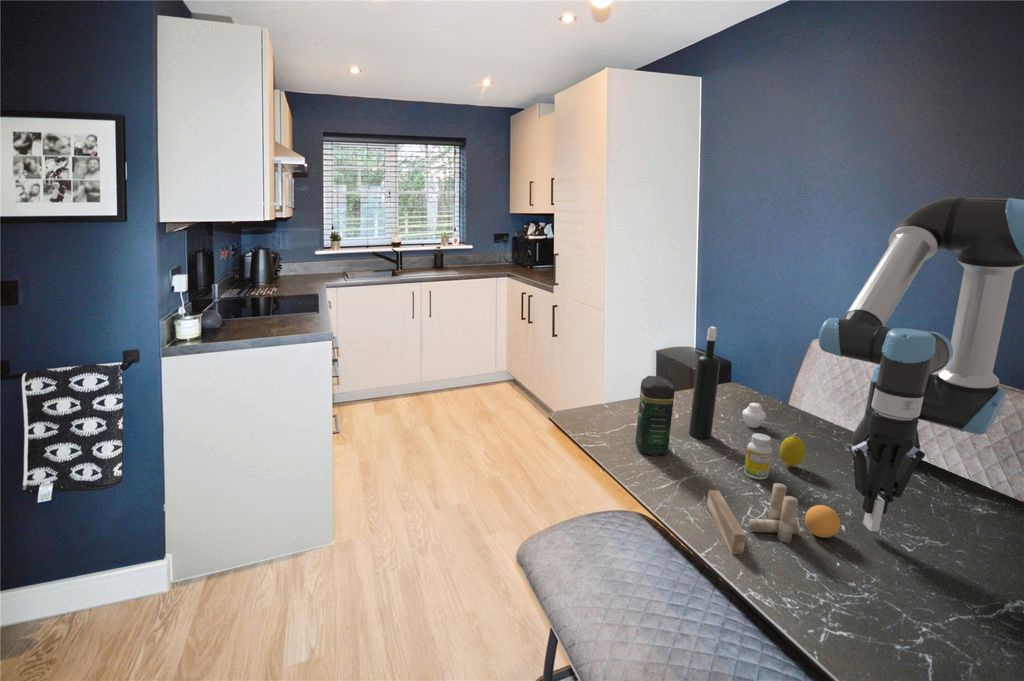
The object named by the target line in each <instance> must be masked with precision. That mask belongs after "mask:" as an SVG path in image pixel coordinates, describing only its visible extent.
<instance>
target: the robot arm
mask: <svg viewBox="0 0 1024 681" xmlns="http://www.w3.org/2000/svg"><path fill="white" fill-rule="evenodd" d="M937 251H950V252H958V255H957V263H959V265H961V266H962V267H963V275H962V280H961V286H960V291H959V297H958V302H957V308H956V312H955V318H954V322H953V329H952V335H951V338H950V339H948V337H946V336H945V335H943V334H942V333H940V332H935V331H925V330H921V329H914V328H905V327H903V328H902V327H901V328H892V327H886V324H887V322H888V321H889V320H890V317H891V316H892V314H893V313H894V311H895V310H896V308H897V307H898V304H899V303H900V302H901V300H902V298H903V296H904V295H905V293H906V291H907V290H908V288H909V287H910V286H911V284H912V282H913V281H914V279H915V277H916V276H917V274H918V272H919V270H920V269H921V268H922V266H923V265H924V263H925V261H926V260H928V259H930V258H932V257H933V256H934V255H935V254H936V253H937ZM1022 267H1024V199H1021V198H1020V199H1019V198H1013V197H1009V198H1007V197H1002V198H1001V197H998V198H997V197H961V196H960V197H959V196H958V197H957V196H952V197H950V196H949V197H945V198H940V199H937V200H933V201H931V202H928V203H927V204H925V205H922V206H921V207H919V208H917V209H916V210H914V211H913V212H911V213H910V214H908V215H907V216H906V217H904V218H903V219H902V220H901V221H900V222H899V223H898V224H897V225H896V226H895V228H894V229H893V231H892V232H891V234H890V235H889V238H888V248H887V249H886V250H885V252H884V253H883V255H882V256H881V258H880V259H879V261H878V263H877V265H876V266H875V267H874V269H873V271H872V272H871V274H870V275H869V277H868V278H867V280H866V281H865V283H864V285H863V286H862V288H861V289H860V290H859V292H858V294H857V296H856V297H855V299H854V300H853V302H852V303H851V304H850V306H849V308H848V309H847V311H846V312H845V314H844V316H842V318H840V317H830V318H828V319H826V320H824V322H823V324H822V325H821V327H820V329H819V332H818V345H819V348H820V349H821V350H822V351H823V352H824V353H828V354H832V355H834V356H837V357H841V358H842V357H843V358H848V359H853V360H859V361H862V362H867V363H872V364H875V365H876V366H875V367H874V369H873V372H872V376H871V379H870V385H869V390H868V395H867V401H866V405H865V406H866V407H865V411H864V415H863V417H862V419H861V420H860V422H859V424H858V425H857V427H856V429H855V430H854V431H853V433H852V437H851V443H850V445H849V447H848V449H849V450H850V453H851V454H852V461H853V474H854V488H855V490H856V491H857V492H859V493H860V495H862V496H863V502H862V510H863V512H865V513H864V516H863V520H862V521H863V522H862V524H863V525H864V526H865V527H866V528H867V530H869V531H870V532H879V531H880V526H881V522H882V517H883V515H885V514H887V511H888V507H889V503H892V502H894V500H895V499H894V498H898V499H899V498H901V497H902V496H903V494H904V491H906V490H905V489H906V487H907V485H908V484H909V482H910V479H911V477H912V476H913V473H915V469H916V467H917V466H918V464H919V463H920V462H921V461H922V460H923V459H924V458H925V456H926V453H925V452H924V451H923V450H921V443H920V438H919V432H918V431H919V430H918V426H919V420H921V421H923V422H928V423H932V424H935V425H937V426H942V427H945V428H949V429H953V430H957V431H960V432H961V433H963V432H965V433H970V434H973V435H978V436H979V435H981V436H982V435H984V434H986V433H987V432H989V431H990V429H991V427H993V424H994V422H995V421H996V419H997V417H998V415H999V413H1000V411H1001V409H1002V407H1003V404H1004V402H1005V400H1006V397H1007V396H1006V395H1007V391H1006V390H1005V389H1003V388H1002V387H999V385H1000V379H999V377H998V376H997V375H996V374H995V373H994V367H995V363H996V358H997V353H998V349H999V344H1000V339H1001V335H1002V330H1003V326H1004V322H1005V316H1006V312H1007V307H1008V303H1009V298H1010V293H1011V288H1012V283H1013V279H1014V275H1015V272H1016V271H1018V270H1020V269H1021V268H1022ZM934 373H936V374H934ZM868 454H869V456H868V459H869V465H868V462H867V458H866V457H867V455H868Z"/></svg>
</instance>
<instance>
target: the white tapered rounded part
mask: <svg viewBox="0 0 1024 681" xmlns="http://www.w3.org/2000/svg"><path fill="white" fill-rule="evenodd" d="M741 414H742V417H743V420H744V422H745V425H746V426H747V427H748V428H750V429H758V428H759V427H761V425H762V424H763V422H764V421H765V419H766V417H767V415H766V412H765V411H764V409H763V406H762V405H761V404H760V403H758V402H751V403H749V404H748V406H747V407H746V408H744V409H743V410H742V413H741Z"/></svg>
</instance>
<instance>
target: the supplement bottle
mask: <svg viewBox="0 0 1024 681" xmlns="http://www.w3.org/2000/svg"><path fill="white" fill-rule="evenodd" d="M771 442H772V438H771V437H770V435H767V434H764V433H758V432H757V433H753V434H751V441H750V442H749V443H748V444H747V446H746V454H745V460H744V467H743V472H744V474H745V475H746V476H747V477H749V478H751V479H755V480H765V479H767V478H768V477H769V474H770V473H769V472H770V467H771V461H772V456H773V455H772V454H773V448H772V446H771V445H770V444H771Z"/></svg>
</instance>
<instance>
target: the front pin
mask: <svg viewBox="0 0 1024 681" xmlns="http://www.w3.org/2000/svg"><path fill="white" fill-rule="evenodd" d="M779 525H780V520H768V519H764V518H762V519H761V518H759V519H758V518H749V520H748V530H749V532H751V533H752V532H753V533H771V534H778V531H779ZM798 527H799V526H798V523H797V521H796V520H795V521H794V527H793V533H792V535H797V534H798V530H799V528H798Z"/></svg>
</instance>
